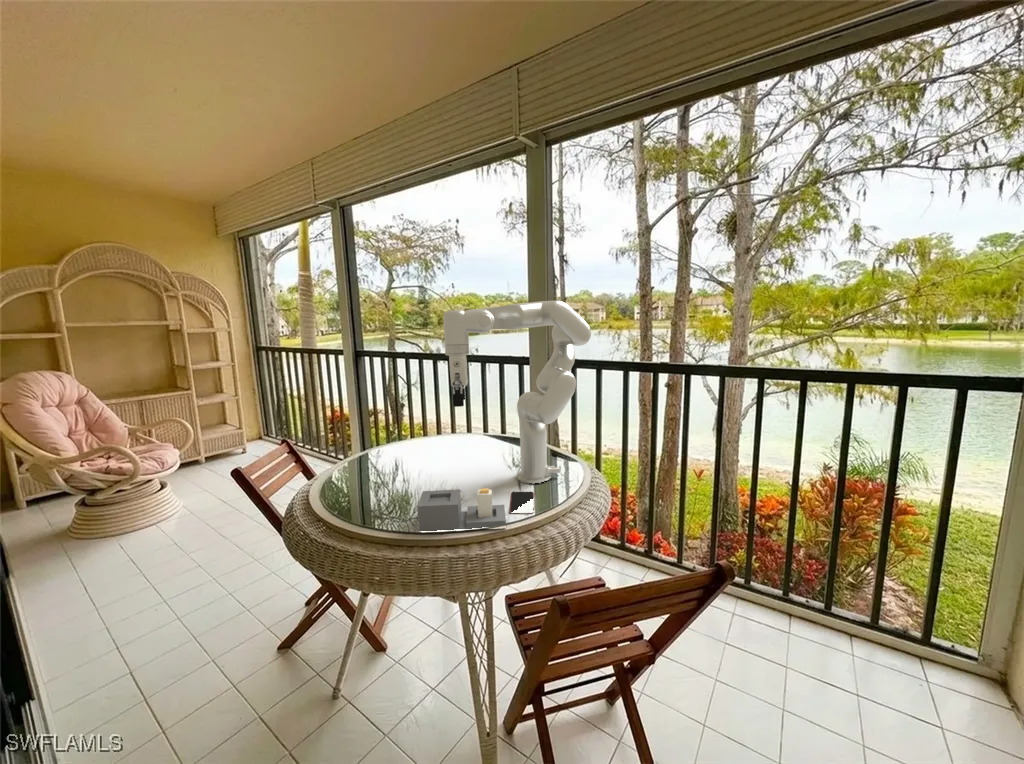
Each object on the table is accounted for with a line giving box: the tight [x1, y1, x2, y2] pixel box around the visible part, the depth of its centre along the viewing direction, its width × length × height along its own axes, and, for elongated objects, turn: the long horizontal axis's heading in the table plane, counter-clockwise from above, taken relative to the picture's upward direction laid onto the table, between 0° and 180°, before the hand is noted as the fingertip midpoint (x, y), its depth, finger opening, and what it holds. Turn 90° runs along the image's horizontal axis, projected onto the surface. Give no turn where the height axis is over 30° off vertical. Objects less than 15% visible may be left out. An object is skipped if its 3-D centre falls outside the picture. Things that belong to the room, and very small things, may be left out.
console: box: [417, 489, 507, 532], centre depth 121 cm, size 24×10×8 cm, turn 94°
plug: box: [476, 487, 493, 518], centre depth 121 cm, size 4×3×9 cm
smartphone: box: [509, 491, 535, 512], centre depth 134 cm, size 7×1×15 cm
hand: (459, 403), depth 136 cm, fingers open, 9 cm apart
